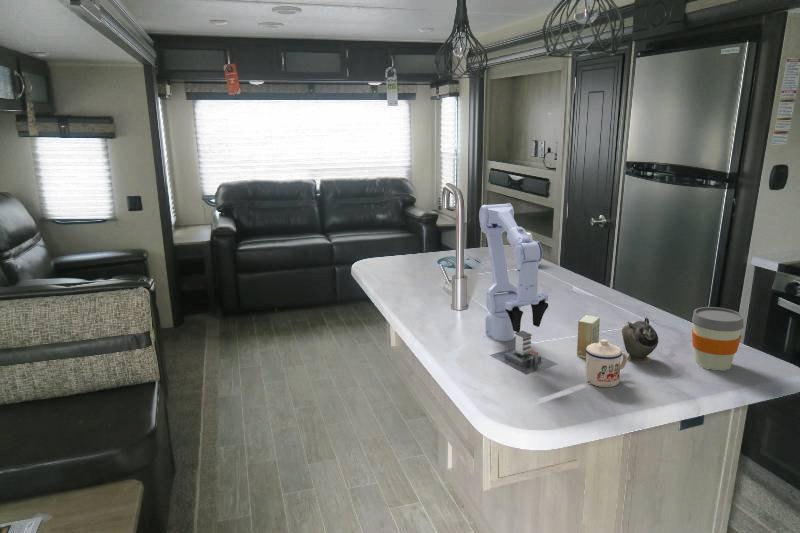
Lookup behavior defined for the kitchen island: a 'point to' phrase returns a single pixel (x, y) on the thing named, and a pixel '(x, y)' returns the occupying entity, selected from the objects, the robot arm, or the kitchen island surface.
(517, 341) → the grey ribbed block
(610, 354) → the teacup with lid
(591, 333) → the skincare box
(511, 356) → the stand base
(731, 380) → the kitchen island surface
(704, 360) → the reusable coffee cup
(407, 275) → the kitchen island surface
